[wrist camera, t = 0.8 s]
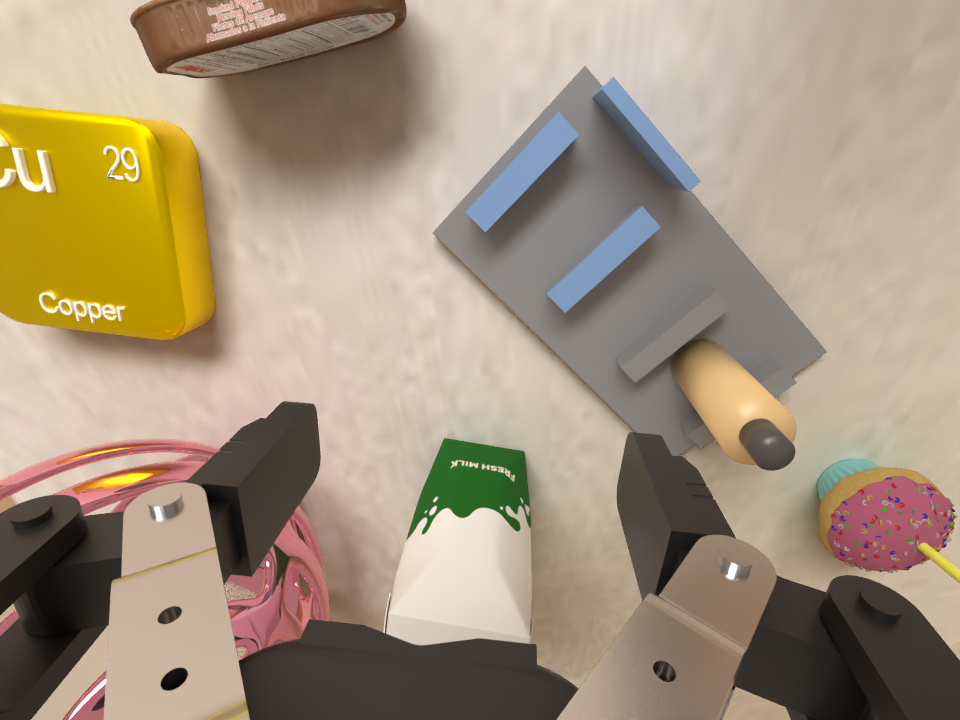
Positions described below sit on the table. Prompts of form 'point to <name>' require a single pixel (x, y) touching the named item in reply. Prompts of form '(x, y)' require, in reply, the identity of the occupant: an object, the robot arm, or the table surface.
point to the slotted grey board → (621, 261)
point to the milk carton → (467, 551)
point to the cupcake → (883, 517)
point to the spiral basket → (277, 585)
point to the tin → (255, 31)
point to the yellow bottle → (735, 406)
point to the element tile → (102, 224)
